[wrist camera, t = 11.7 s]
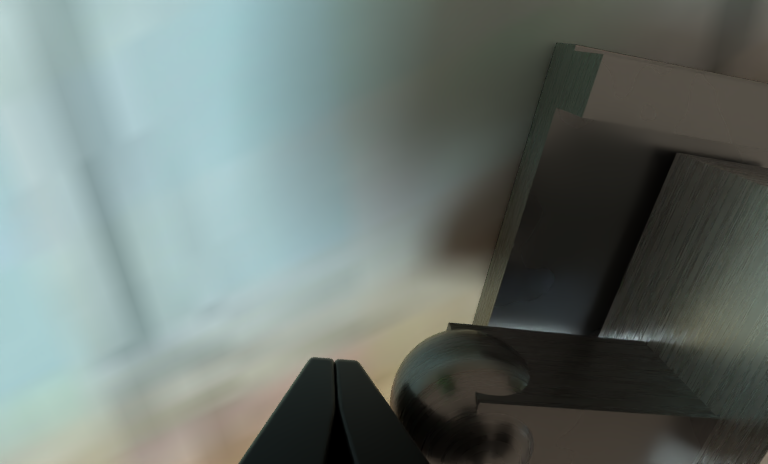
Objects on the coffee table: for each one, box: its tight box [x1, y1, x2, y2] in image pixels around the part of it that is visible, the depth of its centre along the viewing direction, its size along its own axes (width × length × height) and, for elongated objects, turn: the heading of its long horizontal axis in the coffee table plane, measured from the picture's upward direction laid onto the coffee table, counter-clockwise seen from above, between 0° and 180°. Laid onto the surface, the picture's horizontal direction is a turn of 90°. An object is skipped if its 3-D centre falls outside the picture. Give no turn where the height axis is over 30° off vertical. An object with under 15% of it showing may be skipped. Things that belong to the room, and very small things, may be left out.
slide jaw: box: [390, 153, 768, 464], centre depth 9 cm, size 9×8×4 cm
